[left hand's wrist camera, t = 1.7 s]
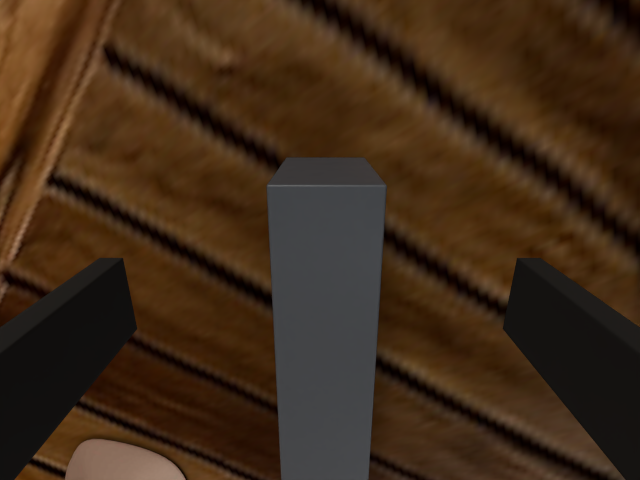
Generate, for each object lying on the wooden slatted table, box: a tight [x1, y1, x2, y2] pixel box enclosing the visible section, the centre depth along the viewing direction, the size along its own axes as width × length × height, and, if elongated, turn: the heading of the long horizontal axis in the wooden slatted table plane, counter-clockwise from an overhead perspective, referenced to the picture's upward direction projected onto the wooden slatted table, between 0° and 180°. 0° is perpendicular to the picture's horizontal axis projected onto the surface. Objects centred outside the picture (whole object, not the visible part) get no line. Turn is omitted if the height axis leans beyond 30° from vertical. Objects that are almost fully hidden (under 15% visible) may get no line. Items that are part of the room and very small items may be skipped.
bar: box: [267, 158, 387, 480], centre depth 23 cm, size 23×5×8 cm, turn 0°
